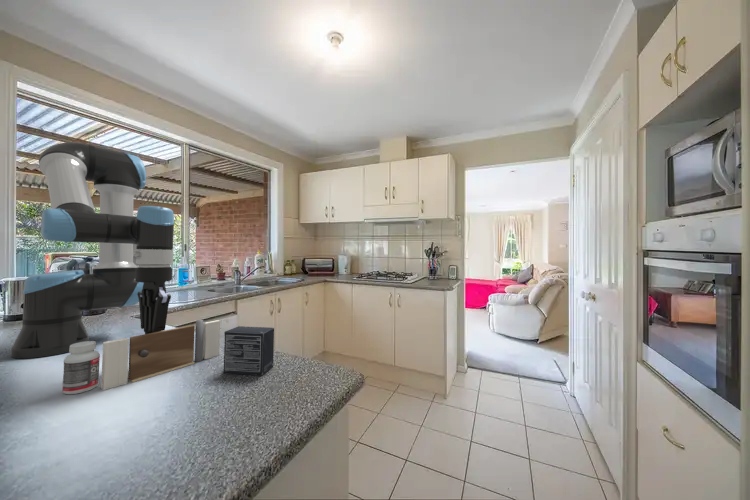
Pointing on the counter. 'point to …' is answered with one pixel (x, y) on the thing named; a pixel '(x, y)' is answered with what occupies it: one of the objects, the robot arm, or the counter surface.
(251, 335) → the small box
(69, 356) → the pill bottle
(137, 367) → the door
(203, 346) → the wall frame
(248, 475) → the counter surface
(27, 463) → the counter surface
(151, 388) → the counter surface
